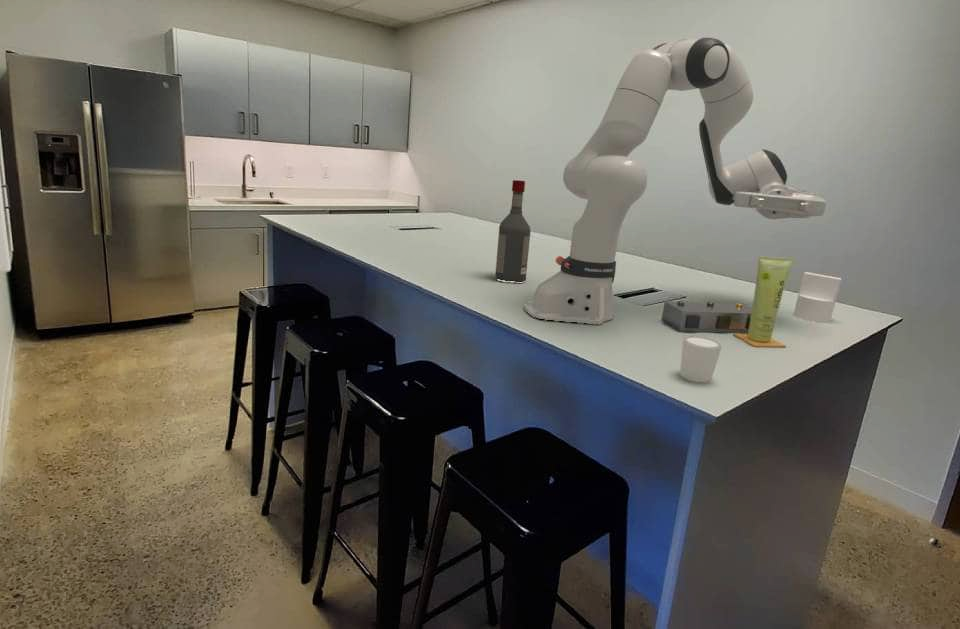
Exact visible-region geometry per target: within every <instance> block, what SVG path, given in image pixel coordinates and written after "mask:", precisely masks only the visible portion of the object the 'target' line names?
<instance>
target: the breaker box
mask: <svg viewBox="0 0 960 629" xmlns="http://www.w3.org/2000/svg"><path fill="white" fill-rule="evenodd" d="M752 307H753V306H750V305H748V304H745V303H740V302H735V303H733V302H732V303H731V302H712V301H708V302H705V301H704V302H703V301H702V302H699V301H697V302H695V301H681V300H679V301H670V300H669V301H668V300H667V301H666V300H665V301H664V304H663V310H662V315H661V321H662V322H663V323H665V324H666V325H668V326H670V327H671V328H673V329H674V330H676V331H677V332H678V333H680V332H683V333H685V332H686V333H720V334H721V333H722V334H723V333H724V334H725V333H726V334H729V333H731V334H748V330H749V325H750V319H751V313H752Z"/></svg>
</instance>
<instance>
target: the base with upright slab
mask: <svg viewBox="0 0 960 629" xmlns="http://www.w3.org/2000/svg"><path fill="white" fill-rule="evenodd" d="M841 283H842V278H841V277H837V276H830V275H827V274H826V275H825V274H820V273H814V272H809V271H805V272H803V274H802V279H801V282H800V287H799V291H798V295H797V299H796V303H795V308H794V312H793V316H794V317H796V318H798V319H800V318H801V320H804V321H809V322H813V321H814V322H813V323H823V324H824V323H825V324H827V323H830V322H831V320H832V316H833V312H834V309H835V305H836V302H837V299H838V298H837V297H838V294H839V291H840V286H841Z"/></svg>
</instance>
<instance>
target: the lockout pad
mask: <svg viewBox="0 0 960 629" xmlns="http://www.w3.org/2000/svg"><path fill="white" fill-rule="evenodd" d="M747 335H748V333H733V336H734V337H736V339H737V338H738V339H740V340H741V341H742V342H745V343H746V344H747V345H749V346H751V347H754V348H787V345H785V344H783V343H781V342H780V341H778V340H776V339H774V338H772V337H771V340H770V341H769V342H759V341H754V340H751V339H749V338H748V337H747Z"/></svg>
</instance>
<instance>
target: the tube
mask: <svg viewBox="0 0 960 629" xmlns="http://www.w3.org/2000/svg"><path fill="white" fill-rule="evenodd" d="M757 262H758V263H757V264H758V265H757V274H756V279H755V280H756V283H755V288H754V296H753V302H752V306H751V307H752V313H751V319H750V325H749V330H748V333H747V334H748V335H747V337H748V338H749V339H751V340H754V341H759V342H769V341H770V340H771V338H772V336H773V332H774V328H775V324H776V319H777V315H778V311H779V309H780V305H781V300H782V296H783V293H784V289H785V286H786V283H787V280H788V276H789V273H790V270H791V267H792V264H793V262H794V258H793V257H777V256H763V255H759V256H758V261H757Z"/></svg>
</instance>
